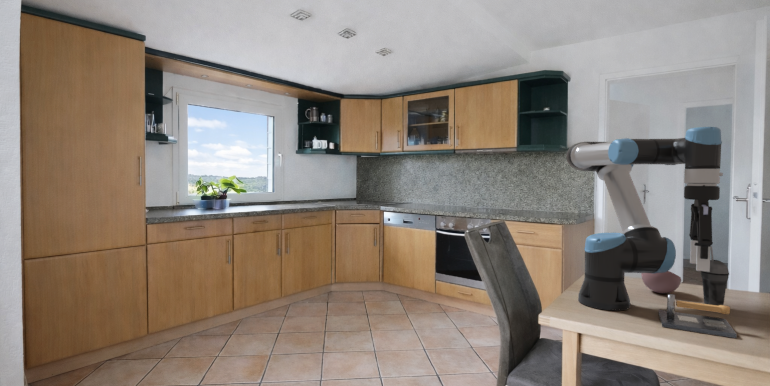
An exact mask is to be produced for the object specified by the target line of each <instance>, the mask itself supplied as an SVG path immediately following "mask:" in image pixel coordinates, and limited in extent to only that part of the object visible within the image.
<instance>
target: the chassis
mask: <svg viewBox="0 0 770 386" xmlns="http://www.w3.org/2000/svg"><path fill="white" fill-rule="evenodd" d="M666 294H667V295H666V296H667V300H666V303H667V305H666V308H667V309H666V310H665V309H663V310H662V309H657V311H658V316H659V321H660V324H661V327H662V328H667V329H674V330H680V331H681V330H682V331H687V332H691V333H692V332H693V333H699V334H706V335H712V336H713V335H714V336H717V337H718V336H719V337H725V338H731V339H737V335H738V334H737V332H736V331H735V329H733V327H732V326H731V324H730V323H729V322H728V320H727V319H726V318H723V317H722V318H721V317H716V316H715V317H714V316H706V315H700V314H692V313H686V312H678V311H675V310H676V309H675V307H676V294H673V293H672V294H671V293H666Z"/></svg>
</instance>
